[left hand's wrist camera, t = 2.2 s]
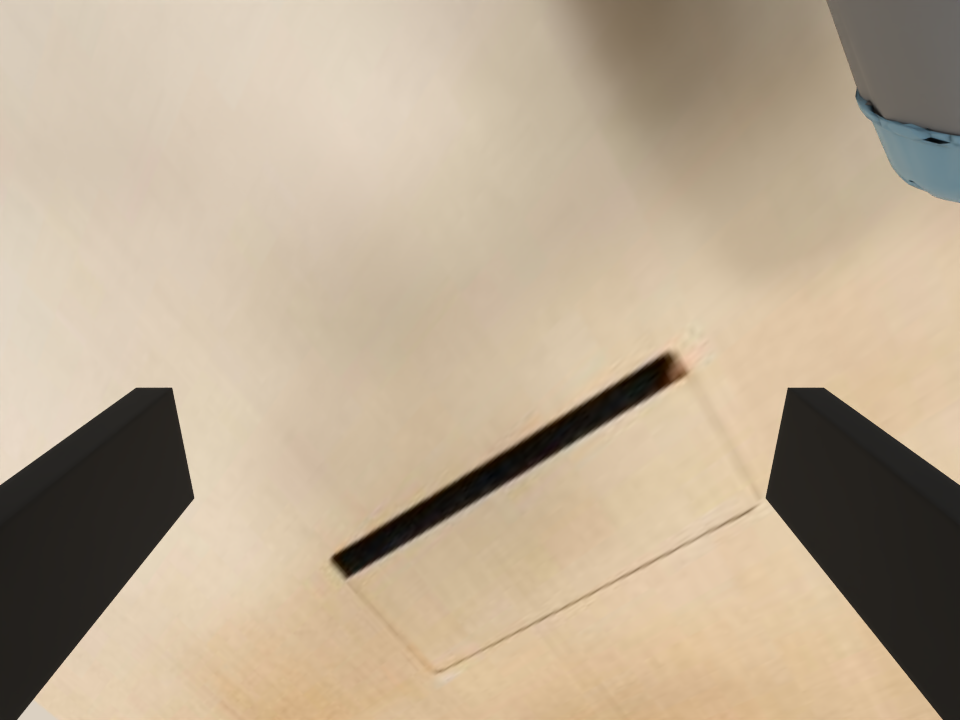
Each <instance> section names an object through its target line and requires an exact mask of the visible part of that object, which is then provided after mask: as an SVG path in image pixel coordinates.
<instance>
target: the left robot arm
mask: <svg viewBox="0 0 960 720" xmlns="http://www.w3.org/2000/svg"><path fill="white" fill-rule="evenodd" d="M827 3H828V6H829V9H830V12H831V14H832V17H833V20H834V23H835V26H836V29H837V32H838V34H839V37H840V40H841V43H842V46H843V49H844V52H845V54H846V57H847V60H848V63H849V66H850V69H851V72H852V74H853V77H854V80H855V83H856V86H857V90H856V96H855V97H856V100H857V103H858V105H859V108H860V110H861V111H862V112H863V113H864V115H865V116H866V117H867V118H868V119H870V120H871V121H872V122H873V125H874V127H875V129H876V132H877V134H878V136H879V139H880V141H881V143H882V146H883V148H884V150H885V153H886V155H887V157H888V160H889V162H890V164H891V166H892V168H893V169H894V170H895V172H896V173H897V174H898V175H899V176H900V177H901V178H902V179H903V180H904V181H905V182H906V183H908V184H909V185H911V186H914V187H916V188H918V189H921V190H924V191H927V192H928V193H930V194H931V195H932V196H934V197H937V198H940V199H944V200H948V201H953V202H958V203H960V0H827ZM193 499H194V494H193V489H192V484H191V479H190V474H189V469H188V464H187V459H186V454H185V449H184V444H183V439H182V434H181V429H180V424H179V419H178V414H177V410H176V405H175V400H174V395H173V390H172V388H135V389H134V390H132V391H131V392H130V393H128V394H127V395H125V396H124V397H123V398H121V399H120V400H118V401H117V402H116V403H114V404H113V405H111V406H110V407H109V408H107V409H106V410H105V411H103V412H102V413H100V414H99V415H98V416H96V417H95V418H93V419H92V420H91V421H89V422H88V423H86V424H85V425H84V426H82V427H81V428H79V429H78V430H77V431H75V432H74V433H72V434H71V435H70V436H68V437H67V438H65V439H64V440H63V441H61V442H60V443H59V444H57V445H56V446H54V447H53V448H52V449H50V450H49V451H47V452H46V453H45V454H43V455H42V456H40V457H39V458H38V459H36V460H35V461H33V462H32V463H31V464H29V465H28V466H26V467H25V468H24V469H22V470H21V471H19V472H18V473H17V474H15V475H14V476H13V477H11V478H10V479H8V480H7V481H6V482H4V483H3V484H1V485H0V720H17V719H18V718H19V717H20V715H21V714H22V713H23V712H24V710H25V709H26V708H27V707H28V705H29V704H30V703H31V702H32V700H33V699H34V698H35V697H36V695H37V694H38V693H39V692H40V690H41V689H42V688H43V687H44V685H45V684H46V683H47V682H48V680H49V679H50V678H51V677H52V675H53V674H54V673H55V672H56V670H57V669H58V668H59V667H60V665H61V664H62V663H63V662H64V660H65V659H66V658H67V657H68V655H69V654H70V653H71V652H72V650H73V649H74V648H75V647H76V645H77V644H78V643H79V642H80V640H81V639H82V638H83V637H84V635H85V634H86V633H87V632H88V630H89V629H90V628H91V627H92V625H93V624H94V623H95V622H96V620H97V619H98V618H99V617H100V615H101V614H102V613H103V612H104V610H105V609H106V608H107V607H108V605H109V604H110V603H111V602H112V600H113V599H114V598H115V597H116V595H117V594H118V593H119V592H120V590H121V589H122V588H123V587H124V585H125V584H126V583H127V582H128V580H129V579H130V578H131V577H132V575H133V574H134V573H135V572H136V570H137V569H138V568H139V567H140V565H141V564H142V563H143V562H144V560H145V559H146V558H147V557H148V555H149V554H150V553H151V552H152V550H153V549H154V548H155V547H156V545H157V544H158V543H159V542H160V540H161V539H162V538H163V537H164V535H165V534H166V533H167V532H168V530H169V529H170V528H171V527H172V525H173V524H174V523H175V522H176V520H177V519H178V518H179V517H180V515H181V514H182V513H183V512H184V510H185V509H186V508H187V507H188V505H189V504H190V503H191V502H192V500H193ZM766 499H767V500H768V502H769V503H770V504H771V505H772V507H773V508H774V509H775V510H776V512H777V513H778V514H779V515H780V517H781V518H782V519H783V520H784V522H785V523H786V524H787V525H788V527H789V528H790V529H791V530H792V532H793V533H794V534H795V535H796V537H797V538H798V539H799V540H800V542H801V543H802V544H803V545H804V547H805V548H806V549H807V550H808V552H809V553H810V554H811V555H812V557H813V558H814V559H815V560H816V562H817V563H818V564H819V565H820V567H821V568H822V569H823V570H824V572H825V573H826V574H827V575H828V577H829V578H830V579H831V580H832V582H833V583H834V584H835V585H836V587H837V588H838V589H839V590H840V592H841V593H842V594H843V595H844V597H845V598H846V599H847V600H848V602H849V603H850V604H851V605H852V607H853V608H854V609H855V610H856V612H857V613H858V614H859V615H860V617H861V618H862V619H863V620H864V622H865V623H866V624H867V625H868V627H869V628H870V629H871V630H872V632H873V633H874V634H875V635H876V637H877V638H878V639H879V640H880V642H881V643H882V644H883V645H884V647H885V648H886V649H887V650H888V652H889V653H890V654H891V655H892V657H893V658H894V659H895V660H896V662H897V663H898V664H899V665H900V667H901V668H902V669H903V670H904V672H905V673H906V674H907V675H908V677H909V678H910V679H911V680H912V682H913V683H914V684H915V685H916V687H917V688H918V689H919V690H920V692H921V693H922V694H923V695H924V697H925V698H926V699H927V700H928V702H929V703H930V704H931V705H932V707H933V708H934V709H935V710H936V712H937V713H938V714H939V715H940V717H941V718H942V719H943V720H960V485H959V484H957V483H956V482H954V481H953V480H952V479H950V478H949V477H947V476H946V475H945V474H943V473H942V472H941V471H939V470H938V469H936V468H935V467H934V466H932V465H931V464H929V463H928V462H927V461H925V460H924V459H922V458H921V457H920V456H918V455H917V454H915V453H914V452H913V451H911V450H910V449H908V448H907V447H906V446H904V445H903V444H901V443H900V442H899V441H897V440H896V439H895V438H893V437H892V436H890V435H889V434H888V433H886V432H885V431H883V430H882V429H881V428H879V427H878V426H876V425H875V424H874V423H872V422H871V421H869V420H868V419H867V418H865V417H864V416H862V415H861V414H860V413H858V412H857V411H855V410H854V409H853V408H851V407H850V406H849V405H847V404H846V403H844V402H843V401H842V400H840V399H839V398H837V397H836V396H835V395H833V394H832V393H830V392H829V391H828V390H826V389H825V388H788V390H787V395H786V400H785V405H784V410H783V414H782V419H781V424H780V429H779V434H778V439H777V444H776V449H775V454H774V459H773V464H772V469H771V474H770V479H769V484H768V489H767V494H766Z"/></svg>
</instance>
